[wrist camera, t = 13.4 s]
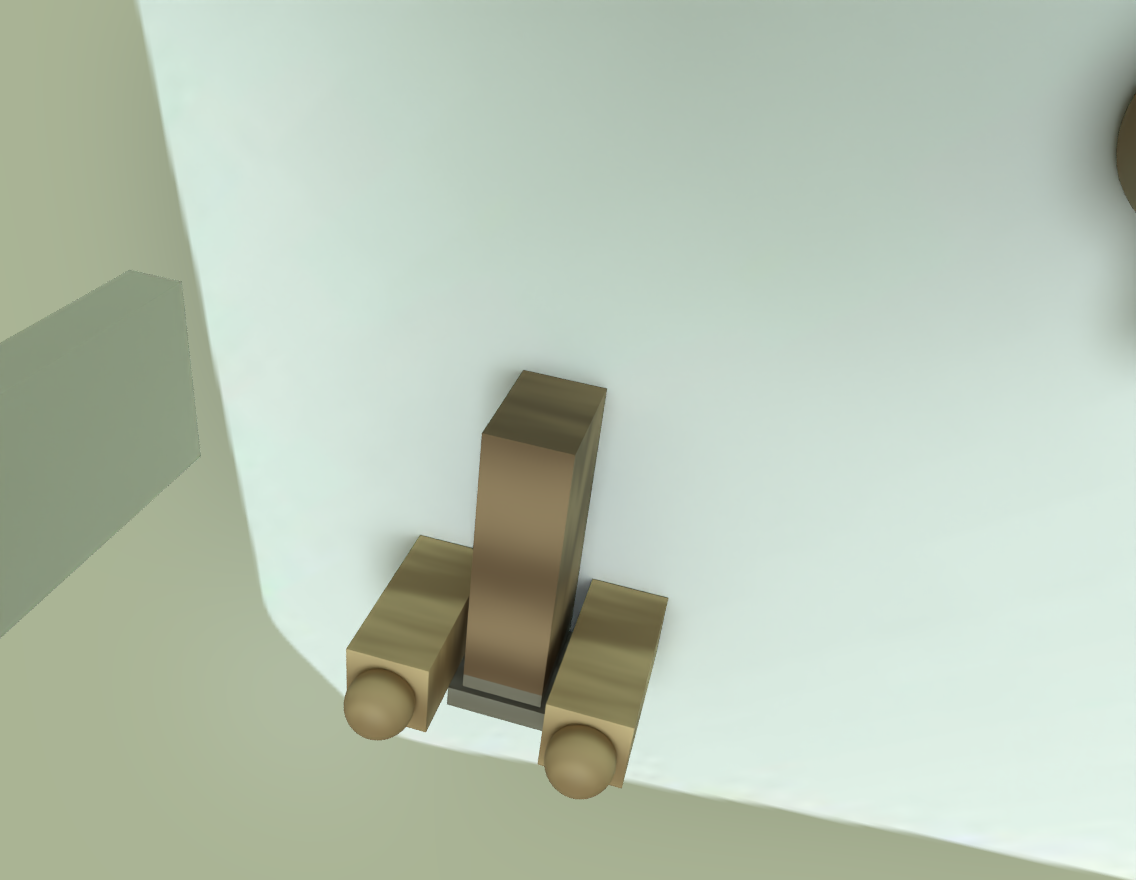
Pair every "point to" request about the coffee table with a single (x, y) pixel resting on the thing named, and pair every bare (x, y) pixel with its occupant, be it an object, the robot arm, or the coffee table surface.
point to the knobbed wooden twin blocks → (566, 717)
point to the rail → (530, 533)
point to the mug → (1128, 153)
